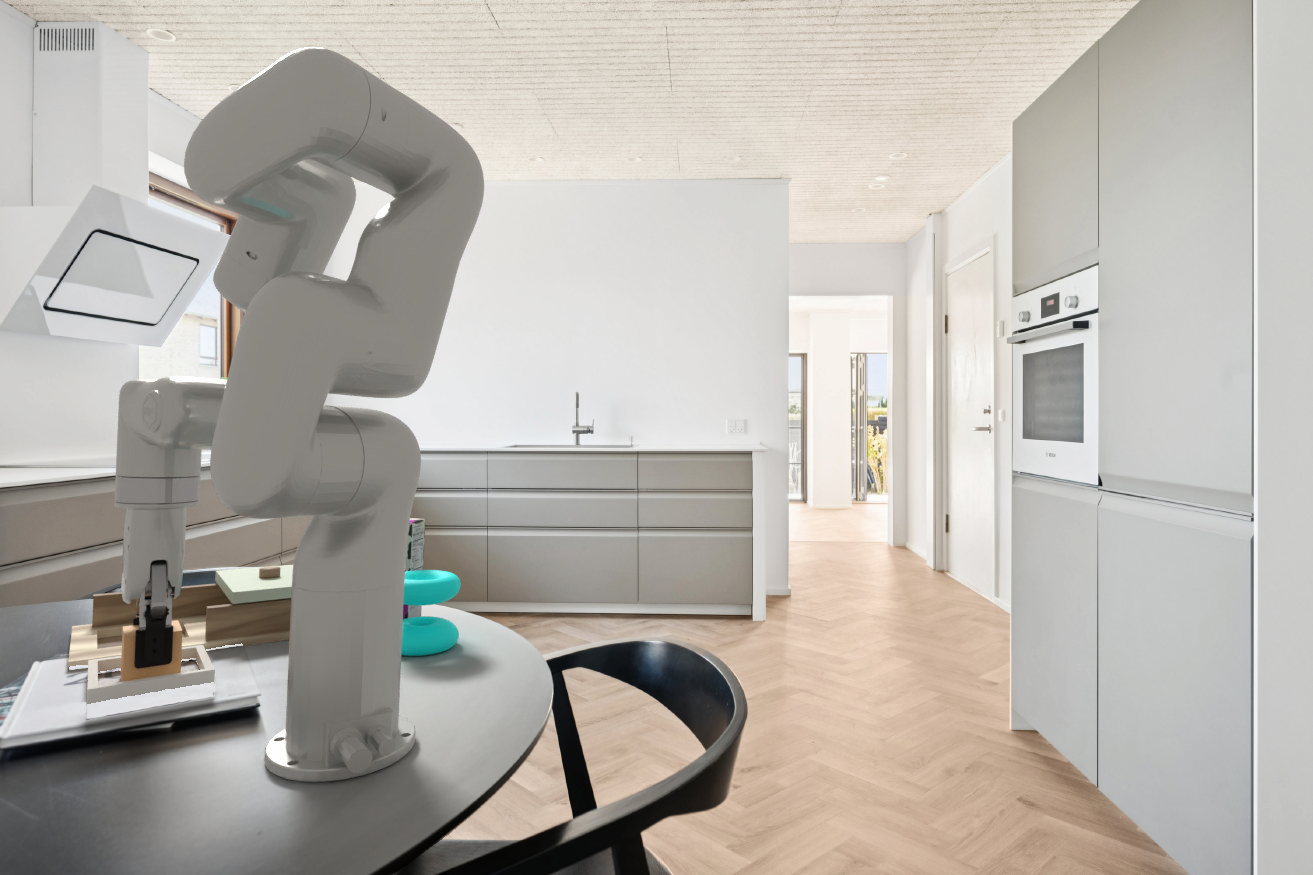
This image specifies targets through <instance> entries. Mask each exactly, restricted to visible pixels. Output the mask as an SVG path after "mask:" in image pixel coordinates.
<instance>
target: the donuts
mask: <svg viewBox="0 0 1313 875" xmlns="http://www.w3.org/2000/svg"><path fill="white" fill-rule="evenodd" d="M461 587H462V583H461V580H460V578H459V577H458V575H456V574H455V573H453V572H451V571H446V570H438V569H423V570H414V571H406V572H405V580H404V600H403V604H405V605H416V606H421V607H422V606H432V605H437V604H441V603H442V604H443V603H445V602H448V601H450V600H451V599H453V598H455V597H456V595H457V594H458V593H459V592H460V589H461ZM458 629H459V628H458V627H457V626H456V625H455V624H454V623H453V622H452V621H450V620H449V619H446V618H444V617H438V616H431V615H430V616H427V615H424V616H422V615H421V616H420V617H411V618H406V619H403V625H402V649H401V656H405V657H406V656H408V657H415V656H416V657H422V656H430V655H435V654H439V653H443V652H445V651H448V650H449V649H451V648H452V647H454V646H455V645H456V643H458V639H459V634H460V633H459V630H458Z"/></svg>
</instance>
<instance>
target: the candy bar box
mask: <svg viewBox="0 0 1313 875" xmlns="http://www.w3.org/2000/svg"><path fill="white" fill-rule="evenodd" d="M425 535H426V519H425V518H415V517H410V521H409V527H408V536H407V548H406V566H405V572H406V571H414V570H424V560H425V559H424V558H425V556H424V555H425V540H426V539H425V537H426V536H425ZM420 616H422V605H421V606H416V605H405V604H403V619H406V618H411V617H420Z"/></svg>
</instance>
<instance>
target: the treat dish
mask: <svg viewBox="0 0 1313 875" xmlns="http://www.w3.org/2000/svg"><path fill="white" fill-rule="evenodd" d="M190 658H196V661H197V663H198V666H199V668H198V669H196V670H188V671H181V673H175V674H168V675H162V676H156V677H149V678H143V679H136V680H130V681H123V682H122V681H118V682H113V683H112V682H111V683H105V684H99V675H98V672H100V671H107V670H112V669H116V668H121V656H115V657H108V658H100V659H93V660H88V669H87V680H88V681H87V685H86V686H87V687H86V692H87V693H86V705H87V704H91V703H96V702H101V701H106V700H110V699H118V698H122V697H127V696H135V695H141V694H145V693H150V692H158V691H162V690H165V689H175V688H180V687H186V686H192V685H200V684H204V683H211V682H214V683H215V680H216V679H215V678H216V676H215V674H216V669H215V667H214V664H213V663H212V661H211V660H212V659H211V658H210V657H209V654H208V651H207V652H206V650H205V648H204V646H203V645H196V646H188V647H182V652H181V660H182V659H190ZM196 661H195V662H196ZM198 666H197V667H198ZM199 669H200V670H199Z"/></svg>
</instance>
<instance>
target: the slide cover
mask: <svg viewBox="0 0 1313 875" xmlns="http://www.w3.org/2000/svg"><path fill="white" fill-rule="evenodd" d="M292 573H293V564H284V565H271V566H259V567H257V566H256V567H246V568H233V569H220V570H218V569H217V570H215V578H214V580H215V582H216V583H215V584H218V585H219V587H220V588H221V589H222V591H223V592H224V593H225V595H226V596H227V597H228V599H229V600H230V601H231V603H232V604H239V603H248V602H257V601H267V600H276V599H285V598H291V589H292Z"/></svg>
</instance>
